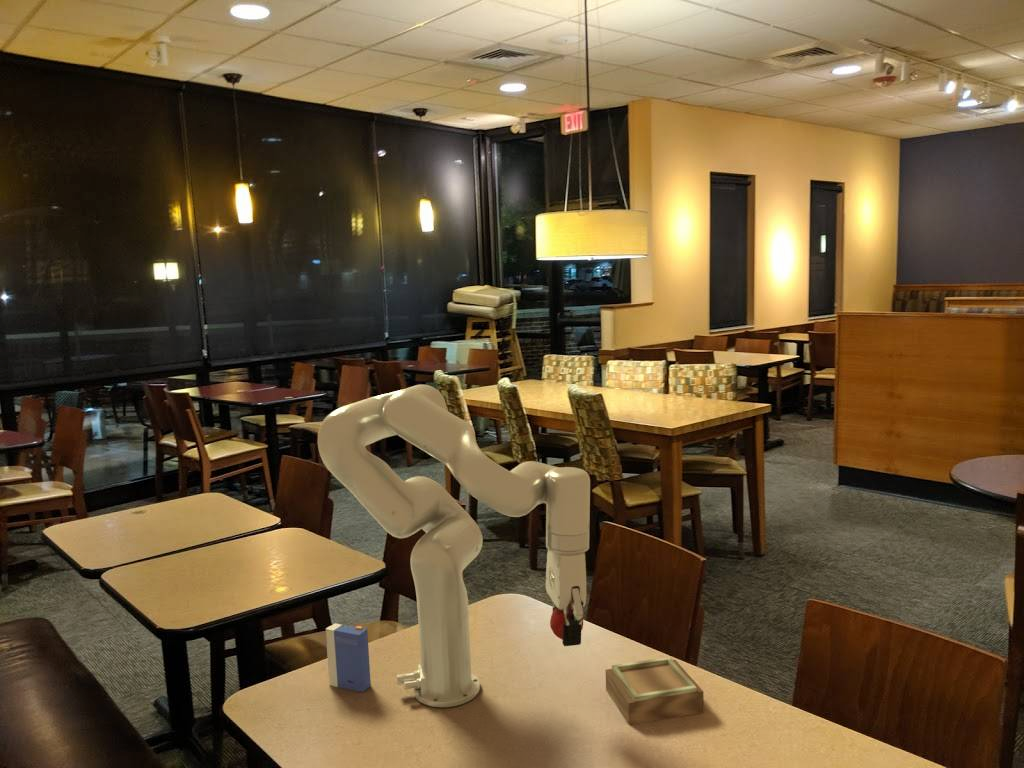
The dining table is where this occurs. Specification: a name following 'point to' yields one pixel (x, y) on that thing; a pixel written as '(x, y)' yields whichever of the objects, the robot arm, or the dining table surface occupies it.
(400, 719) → the dining table surface
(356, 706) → the dining table surface
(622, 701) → the plinth
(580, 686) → the dining table surface
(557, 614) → the onion
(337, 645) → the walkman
